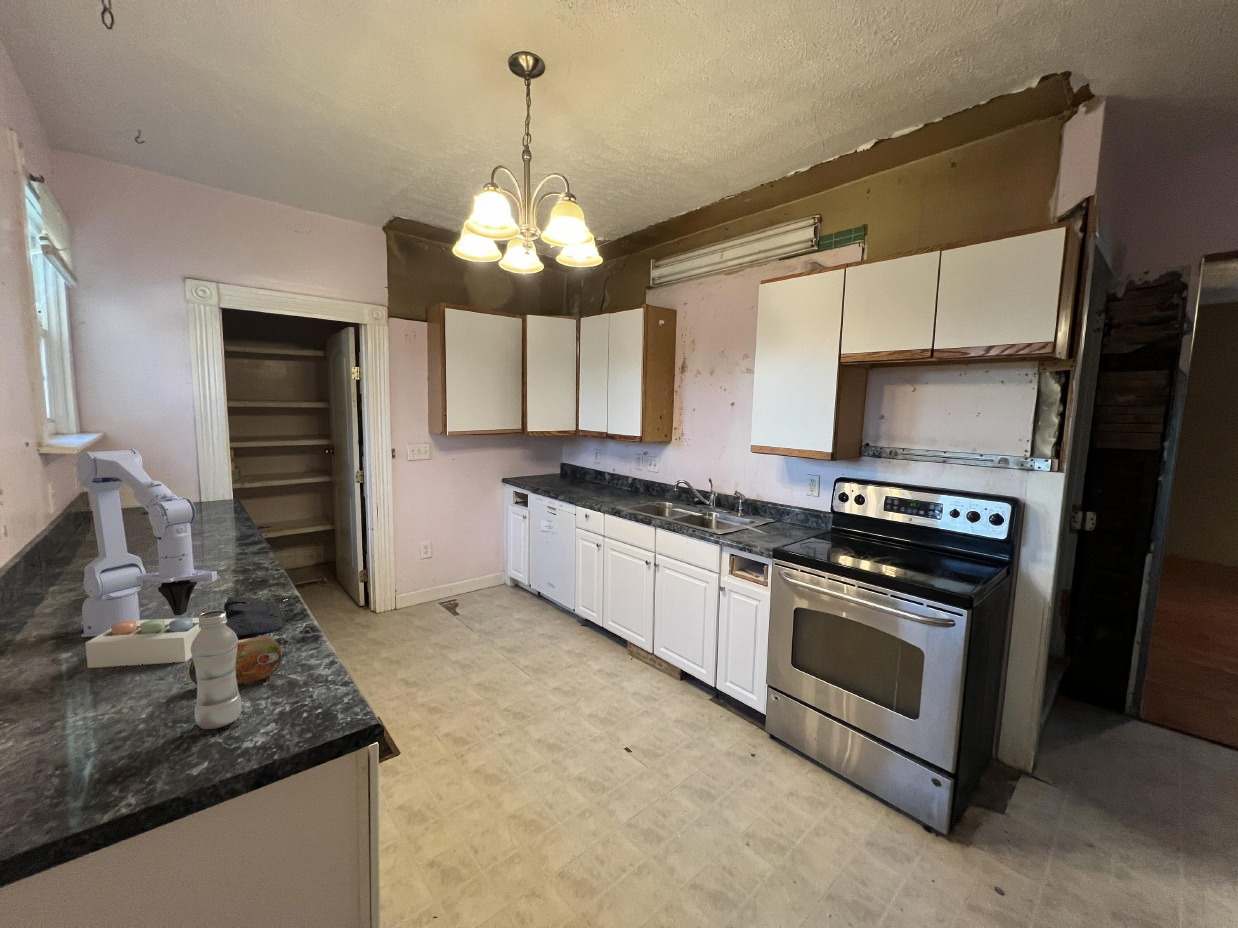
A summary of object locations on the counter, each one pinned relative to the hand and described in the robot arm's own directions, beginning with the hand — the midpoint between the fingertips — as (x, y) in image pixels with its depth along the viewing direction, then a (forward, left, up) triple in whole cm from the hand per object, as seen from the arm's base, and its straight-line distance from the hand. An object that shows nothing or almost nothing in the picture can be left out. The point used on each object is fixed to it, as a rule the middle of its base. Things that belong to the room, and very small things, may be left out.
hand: (180, 613), depth 116 cm
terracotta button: (-11, 0, -5) cm, 12 cm away
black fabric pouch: (+6, +15, -10) cm, 19 cm away
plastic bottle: (+22, -30, -9) cm, 39 cm away
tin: (+18, -15, -9) cm, 26 cm away
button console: (-6, 0, -9) cm, 10 cm away
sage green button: (-6, 0, -5) cm, 7 cm away
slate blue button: (0, 0, -5) cm, 5 cm away
